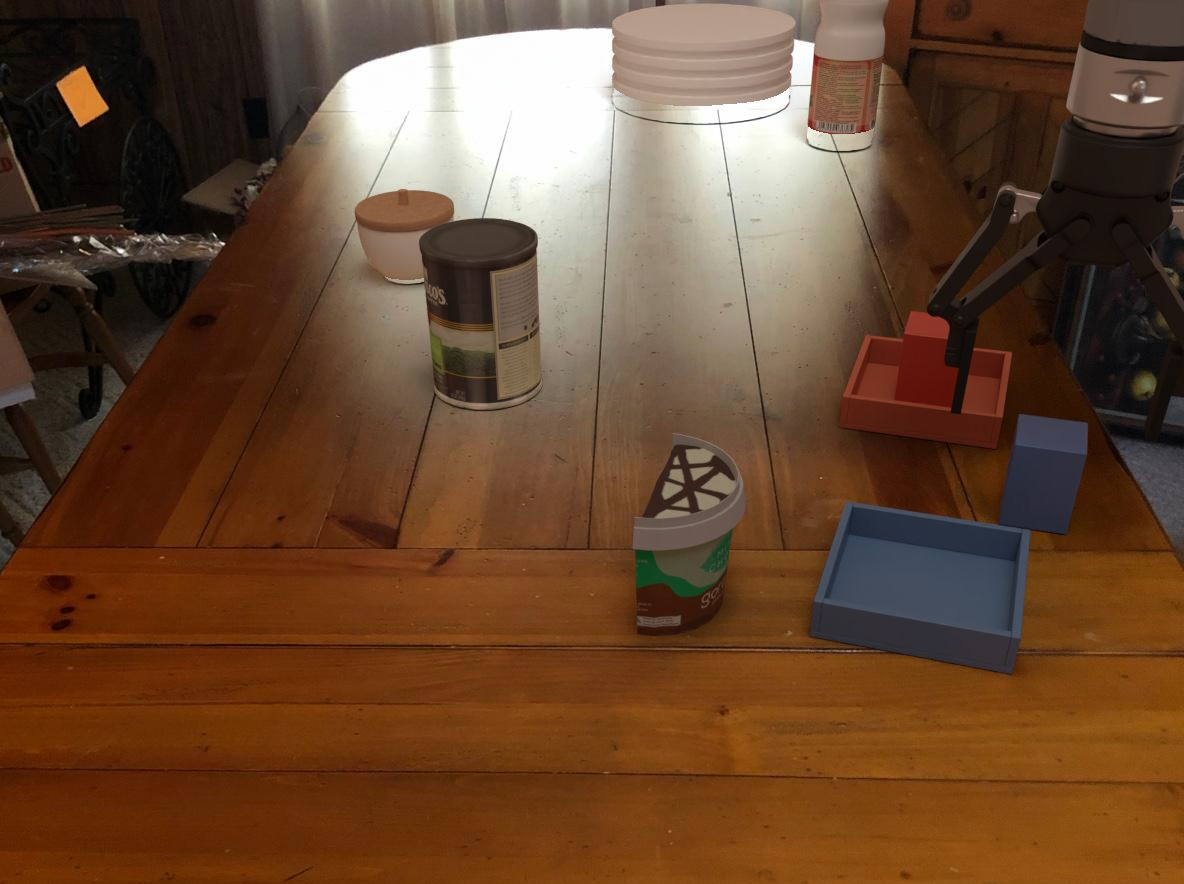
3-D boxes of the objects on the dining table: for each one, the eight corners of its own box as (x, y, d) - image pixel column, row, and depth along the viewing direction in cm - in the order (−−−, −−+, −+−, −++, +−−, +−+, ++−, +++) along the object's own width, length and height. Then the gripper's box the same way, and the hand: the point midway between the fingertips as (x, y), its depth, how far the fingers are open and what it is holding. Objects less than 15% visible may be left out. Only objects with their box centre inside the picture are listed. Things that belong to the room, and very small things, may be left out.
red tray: (1006, 381, 112) (1012, 351, 111) (996, 449, 102) (1002, 417, 101) (862, 363, 116) (865, 334, 114) (838, 427, 106) (842, 396, 104)
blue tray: (1022, 564, 89) (1030, 529, 87) (1012, 674, 79) (1021, 638, 77) (841, 534, 93) (845, 500, 91) (809, 636, 83) (813, 601, 81)
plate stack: (824, 95, 194) (831, 17, 187) (718, 135, 178) (722, 51, 171) (685, 70, 209) (687, -4, 203) (576, 104, 193) (574, 25, 186)
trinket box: (345, 272, 137) (333, 189, 132) (425, 250, 143) (418, 168, 137) (395, 301, 130) (385, 214, 125) (478, 276, 136) (471, 191, 130)
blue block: (1068, 501, 96) (1088, 422, 92) (1066, 535, 92) (1087, 454, 88) (1001, 492, 97) (1018, 413, 93) (997, 524, 93) (1015, 444, 89)
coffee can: (443, 417, 109) (428, 265, 101) (426, 369, 117) (411, 224, 109) (555, 402, 111) (549, 251, 102) (531, 355, 119) (524, 212, 111)
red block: (956, 390, 110) (969, 317, 106) (951, 415, 106) (964, 340, 102) (900, 382, 112) (911, 310, 107) (893, 407, 108) (903, 333, 104)
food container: (721, 661, 81) (730, 535, 75) (631, 646, 82) (632, 521, 76) (752, 559, 90) (762, 439, 84) (671, 547, 92) (674, 429, 86)
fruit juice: (828, 156, 168) (850, -73, 152) (793, 139, 175) (811, -82, 159) (886, 148, 171) (914, -79, 155) (849, 131, 178) (872, -88, 162)
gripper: (918, 119, 78) (873, 417, 90) (1354, 155, 71) (1240, 471, 84) (931, 90, 83) (887, 374, 96) (1336, 120, 77) (1232, 421, 89)
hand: (1051, 419), depth 90 cm, fingers open, 13 cm apart
